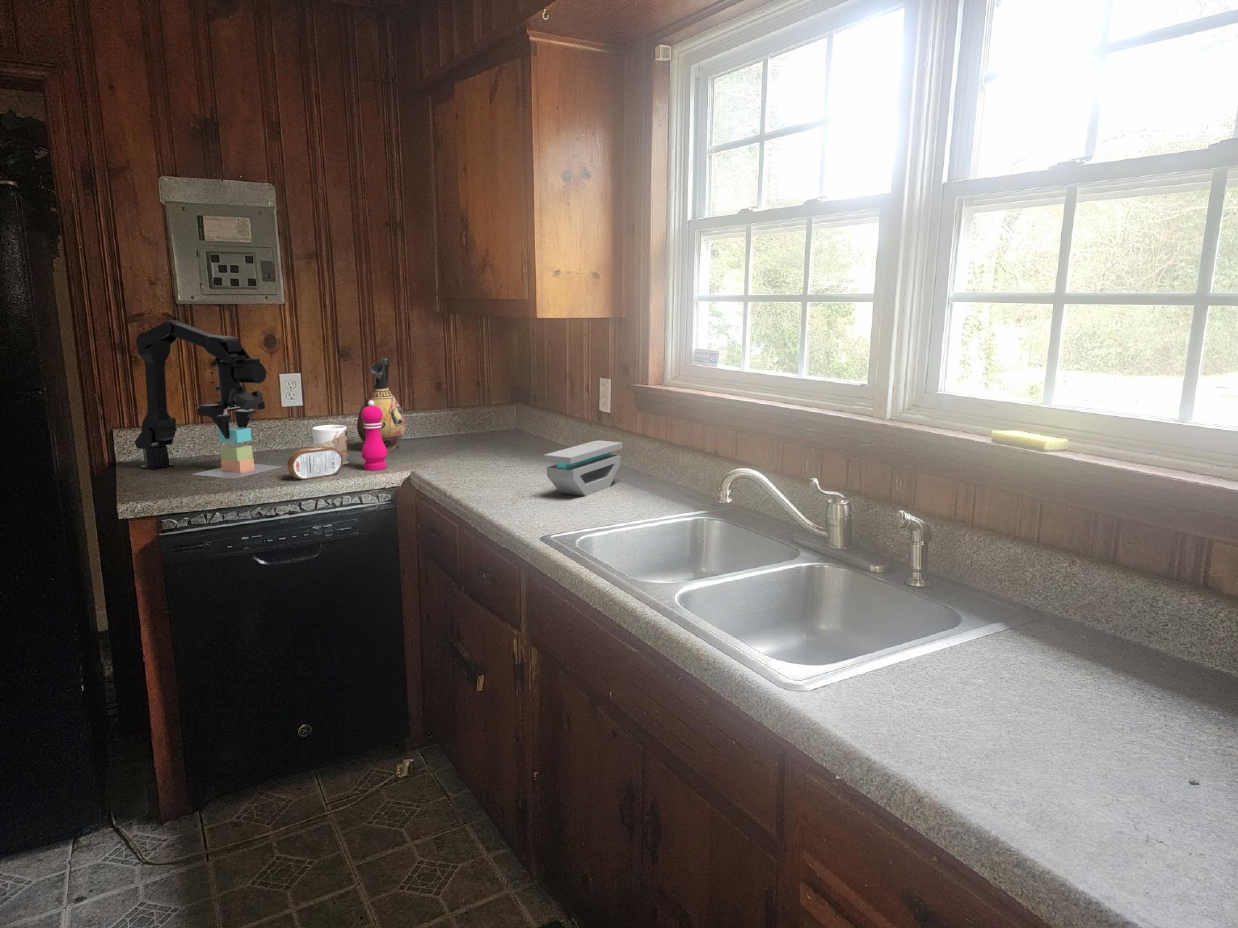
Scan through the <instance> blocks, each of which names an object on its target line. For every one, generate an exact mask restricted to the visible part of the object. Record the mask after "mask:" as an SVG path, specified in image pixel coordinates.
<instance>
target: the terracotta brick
mask: <svg viewBox="0 0 1238 928" xmlns="http://www.w3.org/2000/svg"><path fill="white" fill-rule="evenodd" d="M254 460H255V459H254V457H253V458H250V459H245V460H240V461H234V460H227V459H221V458H220V463H221V468H222V471H226V472H236V473H242V472H247V471H251V470H255V469H254V464H255V461H254Z"/></svg>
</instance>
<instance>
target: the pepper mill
mask: <svg viewBox="0 0 1238 928" xmlns="http://www.w3.org/2000/svg"><path fill="white" fill-rule="evenodd" d="M368 405H369V406H367V407H365V408H364V409H363V410H362V412H361V418H362V419H363V420H364V422H365V423H364V428H365V430H366V438H365V442H363V445H362V449H361V457H362V459H363V460H364V461H365V462H364V463H363V469H364V470H365V471H381V470H385V469H387V462H386V461H385V459H386V458H387V456H388V451H387V449H386V447H385V445H384V443H383V441H382V438H381V434H380V428H381V427H382V426H381V422H380V421H381V419H382V417H383V413H382V410H381V409H380V408H379V407H377V406H374V401H369V402H368Z"/></svg>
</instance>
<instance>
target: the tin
mask: <svg viewBox="0 0 1238 928" xmlns="http://www.w3.org/2000/svg"><path fill="white" fill-rule="evenodd" d="M343 465H344V464H343V457H342V454H341V453H340V452H339V451H338V450H337V449H335V448H333V447H330V446H324V447H315V448H314V447H308V448H299V449H297V450H295V451H294V452H292V453H291V455H290V456H289V458H288V460H287V470H288V473H289V474H290V475H291V476H292V477H294V478H296V479H299V480H303V481H306V480H307V481H308V480H313V479H319V478H326V477H332V476H335V475H337V474H338V473H339V472H340V471H341V469H342V468H343Z"/></svg>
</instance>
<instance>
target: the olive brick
mask: <svg viewBox="0 0 1238 928" xmlns="http://www.w3.org/2000/svg"><path fill="white" fill-rule="evenodd" d="M219 448H220V460H221V459H227V460H234V461H240V460H245V459H250V458H254V455H253V446H252V445H248V444H247V445H245V444H240V443H233V444H229V445H223V446H221V445H220V447H219Z"/></svg>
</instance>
